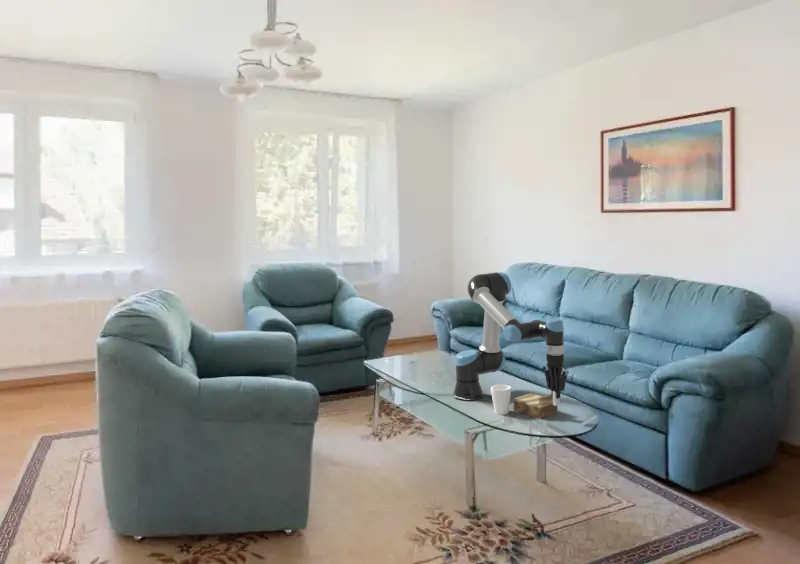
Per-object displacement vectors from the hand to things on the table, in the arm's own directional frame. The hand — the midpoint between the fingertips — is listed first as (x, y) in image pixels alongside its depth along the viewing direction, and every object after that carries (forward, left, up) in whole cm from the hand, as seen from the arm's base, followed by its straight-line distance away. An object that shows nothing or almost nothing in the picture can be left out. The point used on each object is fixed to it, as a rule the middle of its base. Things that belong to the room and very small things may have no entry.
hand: (556, 404), depth 271 cm
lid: (-12, 0, -1) cm, 12 cm away
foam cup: (-23, -12, -7) cm, 27 cm away
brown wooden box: (-12, 0, -7) cm, 14 cm away
